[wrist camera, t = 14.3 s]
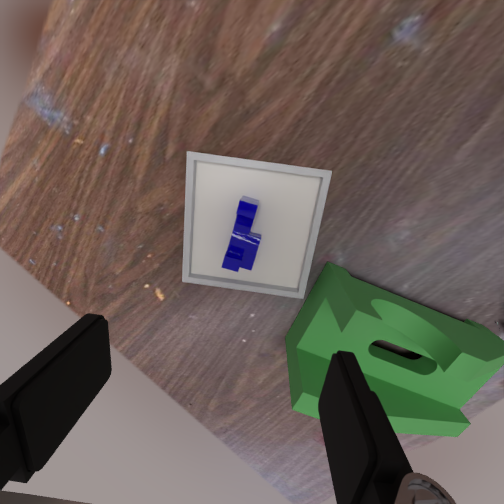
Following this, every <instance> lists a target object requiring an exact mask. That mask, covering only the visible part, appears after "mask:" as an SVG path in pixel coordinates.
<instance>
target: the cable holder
mask: <svg viewBox="0 0 504 504" xmlns="http://www.w3.org/2000/svg"><path fill="white" fill-rule="evenodd" d="M258 204H259V200H257V199H253V198H250V197H247V196H244V195H243V196H242V198H241V199H240V201H239V205H238V208H237V212H236V214H237V215H236V220H235V224H234V228H233V232H232V235H231V239H230V242H229V245H228V248H227V251H226V253H225V256H224V260H223V263H222V267H221V268H225V269H228V270H232V271H235V272H238V271H239V268H244V269H247V270H250V271H251V270H252V267H253V264H254V261H255V258H256V254H257V251H258V247H259V244H260V240H261V234H257V233H254V232H251V231H250V230H251V227H252V224H253V220H254V218H255V214H256V211H257V208H258Z"/></svg>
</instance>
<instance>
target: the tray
mask: <svg viewBox="0 0 504 504" xmlns="http://www.w3.org/2000/svg"><path fill="white" fill-rule="evenodd" d="M331 174H332V171H329V170H321V169H314V168H307V167H299V166H292V165H285V164H277V163H270V162H263V161H255V160H248V159H241V158H233V157H226V156H219V155H211V154H204V153H197V152H189V151H187V166H186V192H185V219H184V245H183V272H182V282H188V283H195V284H202V285H209V286H216V287H223V288H230V289H237V290H244V291H251V292H258V293H265V294H272V295H279V296H286V297H293V298H300V299H304V294H305V290H306V285H307V281H308V276H309V272H310V268H311V263H312V259H313V254H314V250H315V245H316V241H317V236H318V232H319V228H320V223H321V219H322V214H323V210H324V205H325V201H326V197H327V192H328V188H329V183H330V179H331ZM243 195H244V196H247V197H250V198H253V199H257V200H259V204H258V208H257V211H256V214H255V218H254V220H253V224H252V227H251V230H250V231H251V232H254V233H257V234H261V240H260V244H259V247H258V251H257V254H256V258H255V261H254V264H253V267H252V270H251V271H250V270H247V269H244V268H239V271H238V272H235V271H232V270H228V269H225V268H221V267H222V263H223V260H224V256H225V253H226V251H227V248H228V245H229V242H230V239H231V235H232V232H233V228H234V224H235V220H236V215H237V214H236V212H237V208H238V205H239V201H240V199H241V198H242V196H243Z"/></svg>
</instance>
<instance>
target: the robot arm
mask: <svg viewBox="0 0 504 504" xmlns="http://www.w3.org/2000/svg"><path fill="white" fill-rule="evenodd" d="M111 370H112V368H111V357H110V343H109V330H108V321H107V320H105V318H104V316H102V315H97V314H90V313H89V314H86V315H84V316H83V317H82V318H81V319H79V320H78V321H77V322H76V323H75V324H74V325H72V326H71V327H70V328H69V329H68V330H66V331H65V332H64V333H63V334H61V335H60V336H59V337H58V338H57V339H55V340H54V341H53V342H52V343H50V345H48V346H47V347H46V348H44V349H43V350H42V351H41V352H40V353H38V354H37V355H36V356H35V357H34V358H33V359H31V360H30V361H29V362H28V363H27V364H25V365H24V366H23V367H21V368H20V369H19V370H18V371H17V372H15V373H14V374H13V375H12V376H11V377H9V378H8V379H7V380H6V381H5V382H3V383H2V384H1V385H0V504H89V503H83V502H76V501H70V500H63V499H57V498H50V497H43V496H37V495H30V494H23V493H15V492H7V491H2V488H3V487H4V486H5V485H6V484H7V482H8V481H9V480H10V481H16V482H22V483H27V482H28V481H29V479H30V478H31V477H32V475H33V474H34V473H35V471H39V470H41V469H42V468H43V466H44V465H45V464H46V463H47V461H48V460H49V459H50V457H51V456H52V455H53V453H54V452H55V450H56V449H57V448H58V447H59V445H60V444H61V442H62V441H63V440H64V439H65V437H66V436H67V434H68V433H69V432H70V430H71V429H72V428H73V426H74V425H75V424H76V422H77V421H78V419H79V418H80V417H81V415H82V414H83V413H84V411H85V410H86V409H87V407H88V406H89V405H90V403H91V402H92V401H93V399H94V398H95V397H96V395H97V394H98V393H99V391H100V390H101V389H102V387H103V386H104V384H105V383H106V382H107V380H108V379H109V377H110V375H111ZM318 412H319V417H320V422H321V427H322V432H323V437H324V442H325V447H326V452H327V457H328V462H329V467H330V472H331V477H332V481H333V486H334V491H335V496H336V501H337V504H456V503H455V501H454V500H453V498H452V497H451V496H450V495H449V494H448V492H446V490H445V489H444V488H442V487H441V486H440V485H439V484H438V483H437V482H435V481H434V480H432V479H431V478H429V477H428V476H425V475H422V474H420V473H414V472H413V470H412V468H411V466H410V464H409V462H408V460H407V457H406V455H405V453H404V451H403V449H402V447H401V445H400V442H399V440H398V438H397V436H396V434H395V432H394V430H393V428H392V425H391V423H390V421H389V419H388V417H387V415H386V413H385V410H384V408H383V406H382V404H381V402H380V400H379V398H378V396H377V394H376V393H375V392H374V391H371V390H370V387H369V385H368V383H367V381H366V379H365V376H364V374H363V372H362V370H361V367H360V365H359V363H358V361H357V359H356V356H355V354H354V353H353V352H348V351H341V350H338V351H337V353H333V354H332V357H331V360H330V364H329V367H328V371H327V374H326V377H325V381H324V384H323V387H322V391H321V394H320V398H319V401H318Z"/></svg>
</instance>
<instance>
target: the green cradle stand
mask: <svg viewBox="0 0 504 504" xmlns="http://www.w3.org/2000/svg"><path fill="white" fill-rule="evenodd" d="M376 340H385V341H387V342H390V343H392V344H395V345H398V346H400V347H403V348H405V349H408V350H410V351H413V352H415V353H418V354H421V355H423V356H422V357H421V358H419V359H416V360H410V359H407V358H405V357H402V356H400V355H397V354H395V353H392V352H389V351H387V350H384V349H382V348H379V347H377V346H374V345H371V343H372V342H374V341H376ZM285 341H286V352H287V362H288V373H289V383H290V394H291V404H292V410H295V411H298V412H300V413H303V414H306V415H309V416H312V417H314V418H317V419H320V417H319V412H318V401H319V398H320V394H321V391H322V387H323V384H324V381H325V377H326V374H327V371H328V367H329V364H330V360H331V357H332V354H333V353H337V351H338V350H341V351H348V352H353V353H354V354H355V356H356V359H357V361H358V363H359V365H360V367H361V370H362V372H363V374H364V376H365V379H366V381H367V383H368V385H369V387H370V390H371V391H374V392H375V393H376V394H377V396H378V398H379V400H380V402H381V404H382V406H383V408H384V410H385V413H386V415H387V417H388V419H389V421H390V423H391V425H392V428H393V430H394V432H395V433H405V434H421V435H436V436H451V437H457V436H459V435H460V434H461V433H462V432H463V431H464V430H465V429H466V428H467V427H468V426H469V425H470V424H471V423H470V422H469V421H468V420H467V418H466V417H465V416H464V414H463V413H462V412H461V411H460V408H461V407H462V406H463V405H464V404H465V403H466V402H467V401H468V400H469V399H470V398H471V397H472V396H473V395H474V394H475V393H476V392H477V391H478V390H479V389H480V388H481V387H482V386H483V385H484V384H485V383H486V382H487V381H488V380H489V379H490V378H491V377H492V376H493V375H494V374H495V373H496V372H497V371H498V370H499V369H500V368H501V367H502V365H503V364H504V341H503V340H502V339H501V338H499V337H498V336H497V335H495V334H494V333H493V332H491V331H490V330H489V329H487V328H486V327H485V326H483V325H481V324H478V323H476V322H473V321H471V320H469V319H466V320H465V322H462V321H459V320H457V319H454V318H452V317H449V316H447V315H444V314H442V313H439V312H437V311H435V310H432V309H430V308H427V307H425V306H422V305H420V304H417V303H415V302H412V301H410V300H408V299H405V298H403V297H400V296H398V295H395V294H393V293H390V292H388V291H386V290H383V289H381V288H378V287H376V286H373V285H371V284H368V283H366V282H363V281H361V280H359V279H356V278H354V277H351V276H350V274H349V273H348V272H347V270H346V269H344V268H342V267H339V266H337V265H335V264H332V263H330V262H327V263H326V265H325V267H324V269H323V270H322V272H321V274H320V276H319V278H318V279H317V281H316V283H315V285H314V287H313V288H312V290H311V292H310V294H309V296H308V297H307V299H306V301H305V303H304V305H303V307H302V308H301V310H300V312H299V314H298V316H297V317H296V319H295V321H294V323H293V325H292V326H291V328H290V330H289V332H288V334H287V335H286V337H285Z"/></svg>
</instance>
